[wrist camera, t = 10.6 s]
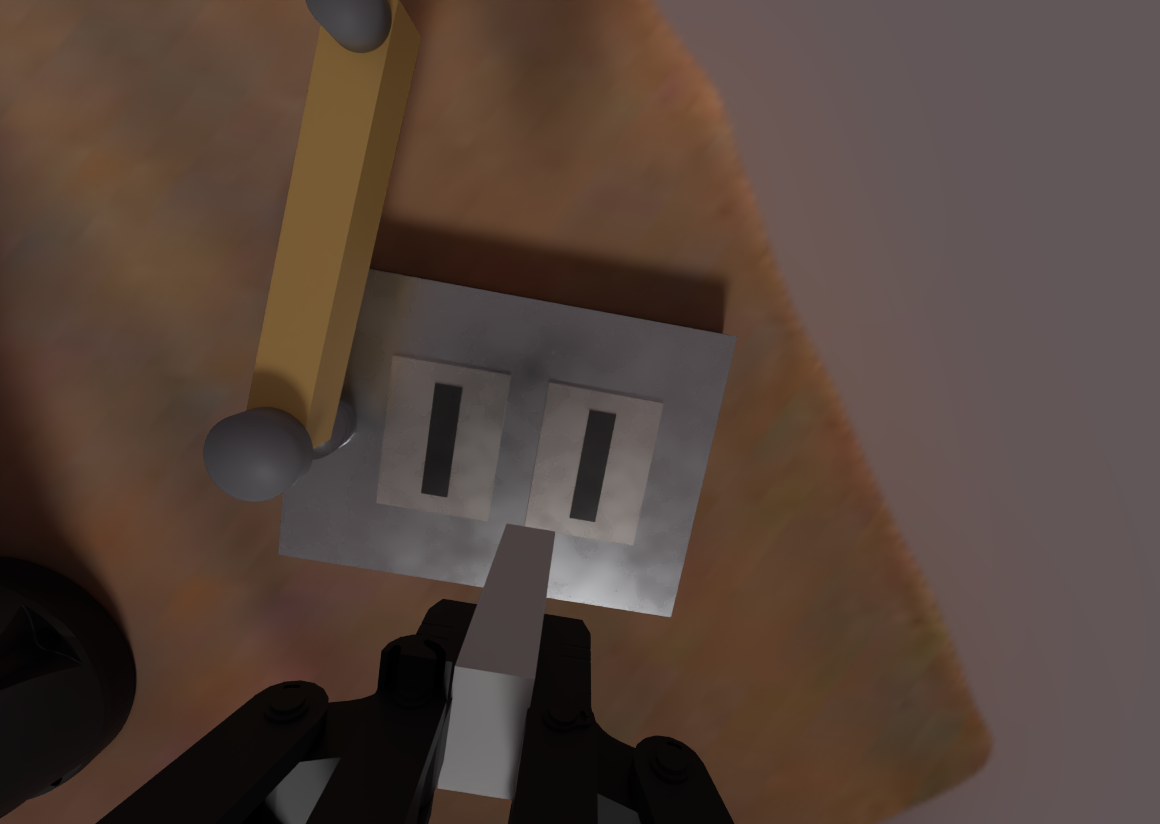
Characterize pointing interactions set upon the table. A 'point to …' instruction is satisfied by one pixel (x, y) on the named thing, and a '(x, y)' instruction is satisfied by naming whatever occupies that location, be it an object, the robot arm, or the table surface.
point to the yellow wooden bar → (321, 247)
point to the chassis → (513, 442)
